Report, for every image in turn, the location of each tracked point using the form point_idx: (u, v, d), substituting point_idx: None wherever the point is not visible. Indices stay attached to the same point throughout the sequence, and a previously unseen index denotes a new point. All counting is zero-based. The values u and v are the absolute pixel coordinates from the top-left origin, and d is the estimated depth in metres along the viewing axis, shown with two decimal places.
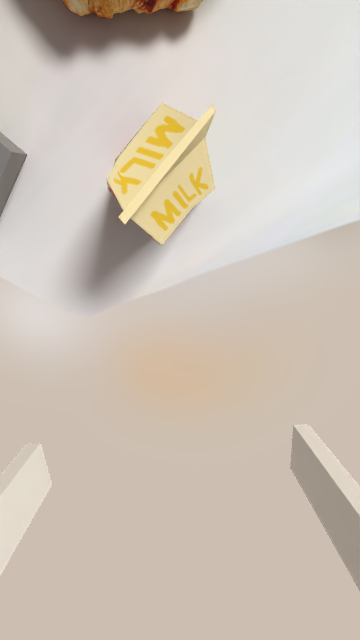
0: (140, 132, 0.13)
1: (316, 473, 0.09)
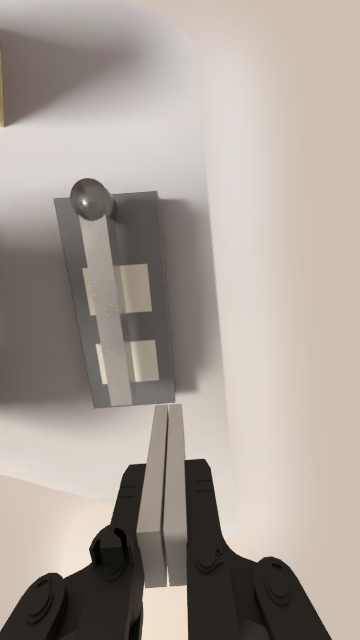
0: None
1: None
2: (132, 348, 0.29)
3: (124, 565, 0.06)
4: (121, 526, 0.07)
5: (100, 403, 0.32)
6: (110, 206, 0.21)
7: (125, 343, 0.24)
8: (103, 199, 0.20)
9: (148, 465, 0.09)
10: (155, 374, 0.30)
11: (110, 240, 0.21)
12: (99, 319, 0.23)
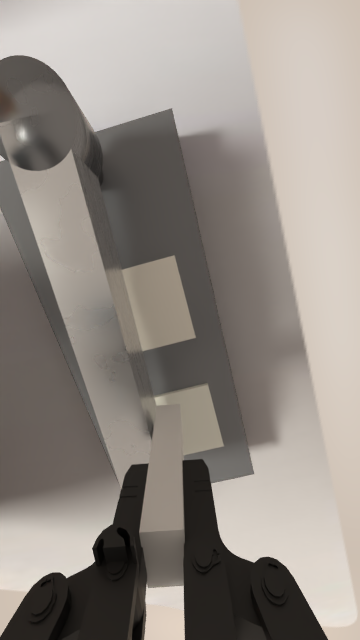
0: None
1: None
2: None
3: (127, 565, 0.06)
4: (124, 526, 0.07)
5: None
6: (83, 133, 0.09)
7: (150, 421, 0.12)
8: (62, 112, 0.08)
9: (150, 465, 0.09)
10: (216, 439, 0.18)
11: (92, 214, 0.09)
12: (92, 387, 0.11)
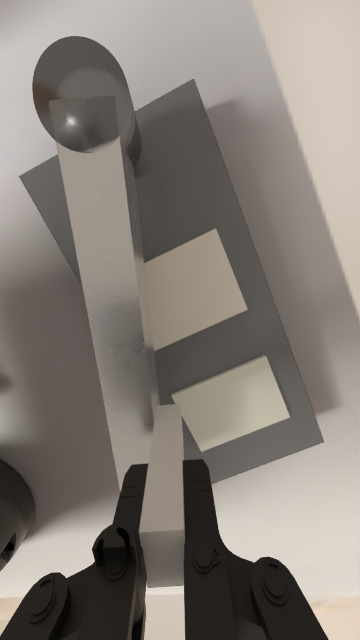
0: None
1: None
2: (232, 382, 0.17)
3: (127, 565, 0.06)
4: (124, 526, 0.07)
5: None
6: (131, 122, 0.09)
7: None
8: (115, 98, 0.08)
9: (150, 465, 0.09)
10: (281, 411, 0.18)
11: (129, 203, 0.09)
12: (104, 374, 0.11)
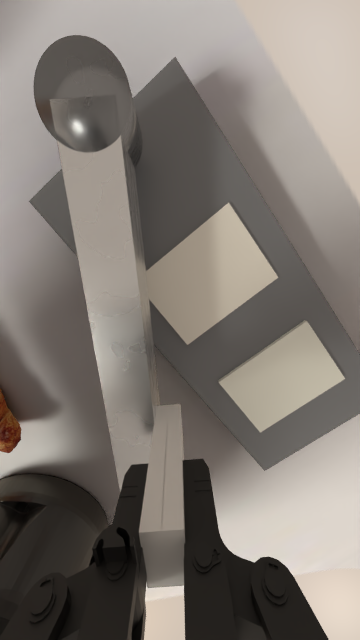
0: None
1: None
2: (277, 355, 0.16)
3: (127, 565, 0.06)
4: (124, 526, 0.07)
5: (270, 459, 0.19)
6: (132, 121, 0.09)
7: (155, 415, 0.12)
8: (117, 98, 0.08)
9: (150, 465, 0.09)
10: (334, 374, 0.17)
11: (130, 202, 0.09)
12: (104, 374, 0.11)
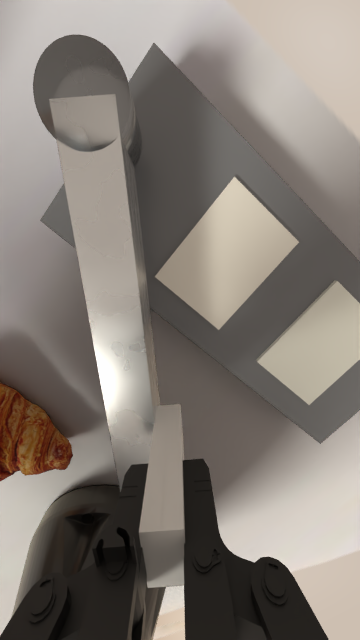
0: None
1: None
2: (312, 322, 0.16)
3: (127, 565, 0.06)
4: (124, 526, 0.07)
5: (324, 431, 0.19)
6: (132, 120, 0.09)
7: (155, 414, 0.12)
8: (116, 97, 0.08)
9: (150, 465, 0.09)
10: None
11: (129, 202, 0.09)
12: (104, 373, 0.11)
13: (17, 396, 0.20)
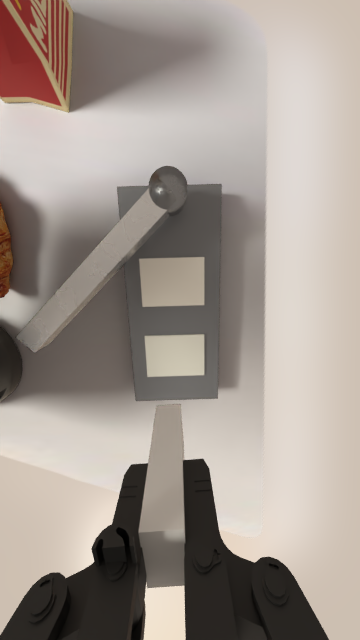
0: None
1: None
2: (181, 342, 0.29)
3: (126, 565, 0.06)
4: (123, 526, 0.07)
5: (142, 396, 0.32)
6: (176, 209, 0.21)
7: (80, 305, 0.23)
8: (177, 199, 0.20)
9: (150, 465, 0.09)
10: (200, 369, 0.30)
11: (151, 228, 0.21)
12: (80, 269, 0.22)
13: (8, 240, 0.28)
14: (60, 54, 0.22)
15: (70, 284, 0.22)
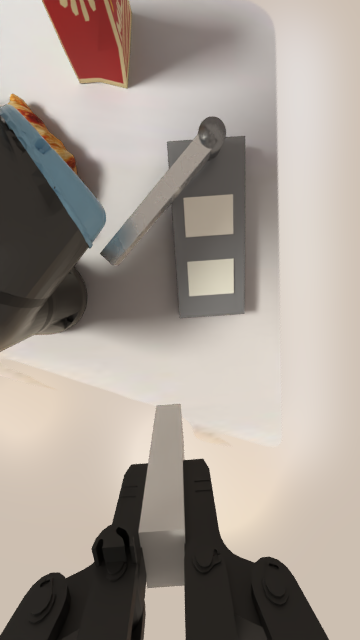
0: None
1: None
2: (215, 265, 0.38)
3: (126, 565, 0.06)
4: (123, 526, 0.07)
5: (185, 314, 0.40)
6: (217, 149, 0.29)
7: (146, 227, 0.32)
8: (218, 141, 0.29)
9: (150, 465, 0.09)
10: (231, 288, 0.39)
11: (199, 164, 0.30)
12: (148, 197, 0.30)
13: None
14: (126, 43, 0.31)
15: (141, 209, 0.30)
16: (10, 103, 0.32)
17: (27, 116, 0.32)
